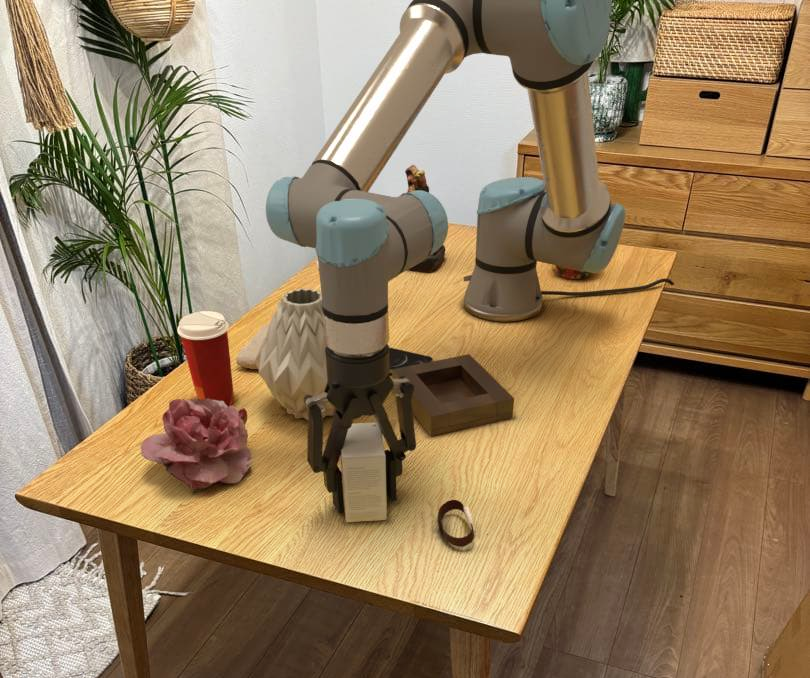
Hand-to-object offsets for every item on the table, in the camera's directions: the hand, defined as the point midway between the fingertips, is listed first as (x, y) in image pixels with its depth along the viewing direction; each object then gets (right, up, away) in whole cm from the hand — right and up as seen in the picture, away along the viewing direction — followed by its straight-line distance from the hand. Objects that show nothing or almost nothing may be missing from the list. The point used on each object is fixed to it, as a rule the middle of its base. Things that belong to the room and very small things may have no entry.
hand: (364, 501), depth 107 cm
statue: (+10, +56, +67) cm, 87 cm away
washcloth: (-15, +28, +35) cm, 47 cm away
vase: (-9, +16, +20) cm, 27 cm away
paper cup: (-25, +17, +22) cm, 37 cm away
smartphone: (+2, +26, +31) cm, 41 cm away
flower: (-24, +5, +7) cm, 25 cm away
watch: (+12, -4, -4) cm, 13 cm away
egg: (+41, +51, +62) cm, 90 cm away
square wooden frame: (+13, +17, +21) cm, 30 cm away
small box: (0, -1, 0) cm, 1 cm away
